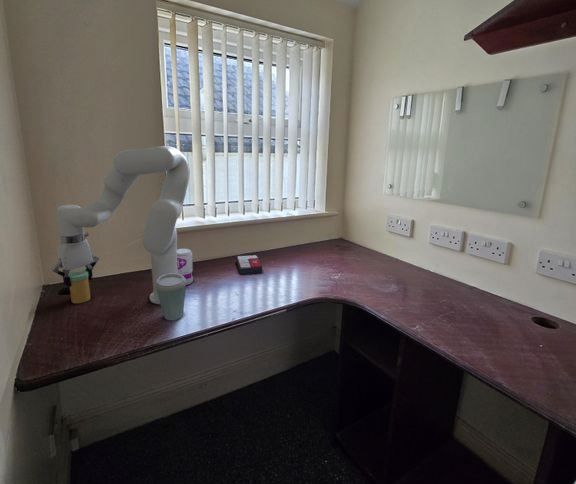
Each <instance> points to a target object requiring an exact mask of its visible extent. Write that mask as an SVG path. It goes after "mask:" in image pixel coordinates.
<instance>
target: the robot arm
mask: <svg viewBox="0 0 576 484" xmlns="http://www.w3.org/2000/svg"><path fill="white" fill-rule="evenodd" d="M164 172H165V173H166V174H165V178H164V180H163V183H162V189H161V192H160V195H159V198H158V199H157V200H155V201H154V202H153V203H152V204H151V207H150V209H149V211H148V215H147V218H146V222H145V226H144V231H143V235H142V245H143V247H144V249H145V250H146V251H147V252H149V253H150V265H151V278H152V292H151V293H150V295H149V301H150V302H151V303H153V304H155V305H161V304H160V301H159V297H158V293H157V290H156V288H155V282H156V281H157V278H159V277H160V276H161V275H164V274H168V273H178V269H177V249H178V231H177V228H176V224H177V221H178V219H179V218H180V216H181V215H182V212H183V208H184V202H185V199H186V194H187V191H188V186H189V182H190V176H191V170H190V165H189V162H188V159H187V157H186V156H185V155H184V154H183V153H182V151H180V150H179V149H177V148H176V147H174V146H172V145H171V146H170V145H161V146H152V147H144V148H135V149H133V148H131V149H123V150H121V151H119V152H117V153H116V154H115V156H114V158H113V167H112V168H111V169H110V171H109V172H108V173H107V175H106V176H105V177H104V178H103V184H104V188H103V190H102V191H101V193H100V195H99V196H98V198H97V199H95V200H94V202H92V203H91V204H88V205H87V206H83V207H81V206H80V205H77V204H64V205H60V206H58V207H57V209H56V216H57V223H58V230H59V238H60V242H58V245H57V262H56V263H55V264H54V266H53V267H52V268H51V271H52V272H54V273H56V274H57V275H58V276H61V277H62V280H63V285H65V286H66V287H68V288H69V287H71V281H70V277H69V276H68V275H69V273H71V270H74V269H79V268H82V267H85V270H86V271H88V273H89V276H88V280H89V281H93V270H94V268H95V266H96V265H97V263H98V262H99V260H100V258H99V257H98V256H96V255H94V254H92V252H91V251H92V250H91V246H90V244H89V241H88V239H87V238H86V237H88V236H89V232H85V228H94V227H96V226H98V225H101V224H102V223H103V222H105V221H106V220H108V219H109V218H110V217H111V216H112V215H113V213H114V212H115V210H116V209H117V208H118V207H119V206H120V204H121V202H122V201H123V199H124V198H125V197H126V194H127V193H128V192H129V190H130V189H131V188H132V187H133V185H134V184H135V182H136V181H137V180H138V179H139V178H140V176H141V175H149V174H158V173H164ZM60 268H61V269H62V270H59V269H60Z"/></svg>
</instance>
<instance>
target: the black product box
mask: <svg viewBox="0 0 576 484" xmlns="http://www.w3.org/2000/svg"><path fill="white" fill-rule="evenodd" d="M236 266H237V268H238V271H239V272H238V273H239V275H249V274H263V266H262V264H261V262H260V260H259V257H258V255H256V254H254V255H238V256H236Z"/></svg>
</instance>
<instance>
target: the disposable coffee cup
mask: <svg viewBox="0 0 576 484" xmlns="http://www.w3.org/2000/svg"><path fill="white" fill-rule="evenodd" d="M186 287H187V285H186V278H184V276H182V275H181V274H178V273H168V274H164V275H161V276H160V277H159V278H157V281H156V282H155V288H156V290H157V293H158V297H159V301H160V304H159V305H160V308H161V310H162V316H163V317H164V319H165V320H167V321H177V320H179V319H181V318H182V317H183V314H184V309H185V299H186Z"/></svg>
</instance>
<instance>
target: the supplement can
mask: <svg viewBox="0 0 576 484" xmlns="http://www.w3.org/2000/svg"><path fill="white" fill-rule="evenodd" d="M177 269H178V274H181V275H182V276H184V278H186V286H189V285H190V284H192V283H193V281H194V270H193V269H194V267H193V252H192V250H191V249H189V248H183V247H181V248H177Z"/></svg>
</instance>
